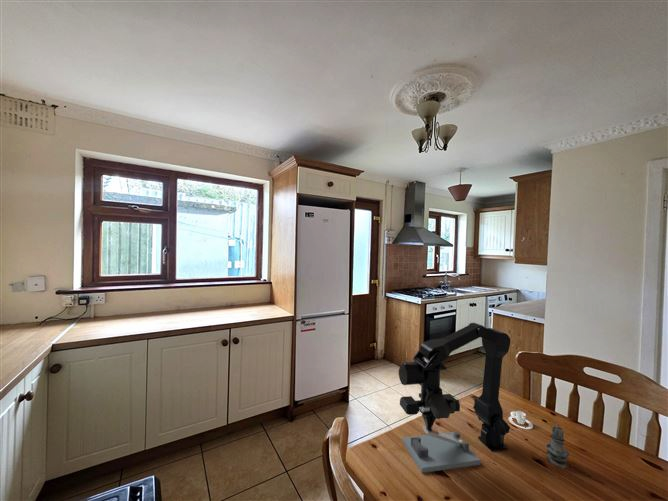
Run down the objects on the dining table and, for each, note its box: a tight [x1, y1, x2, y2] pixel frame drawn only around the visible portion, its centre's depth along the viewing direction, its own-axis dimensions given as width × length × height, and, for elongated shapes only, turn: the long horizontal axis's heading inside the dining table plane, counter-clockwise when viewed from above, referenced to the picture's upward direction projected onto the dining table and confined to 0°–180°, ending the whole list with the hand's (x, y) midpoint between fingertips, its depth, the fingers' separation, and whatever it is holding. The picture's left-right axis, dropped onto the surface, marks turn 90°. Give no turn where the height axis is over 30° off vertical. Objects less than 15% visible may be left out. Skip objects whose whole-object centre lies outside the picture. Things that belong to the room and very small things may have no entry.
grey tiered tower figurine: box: [545, 423, 570, 469], centre depth 85 cm, size 6×6×12 cm
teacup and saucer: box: [508, 410, 534, 430], centre depth 105 cm, size 9×8×4 cm
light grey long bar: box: [422, 425, 465, 448], centre depth 88 cm, size 15×3×2 cm, turn 100°
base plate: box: [402, 431, 481, 474], centre depth 88 cm, size 20×13×4 cm, turn 100°
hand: (428, 429), depth 87 cm, fingers closed, pressing on light grey long bar
